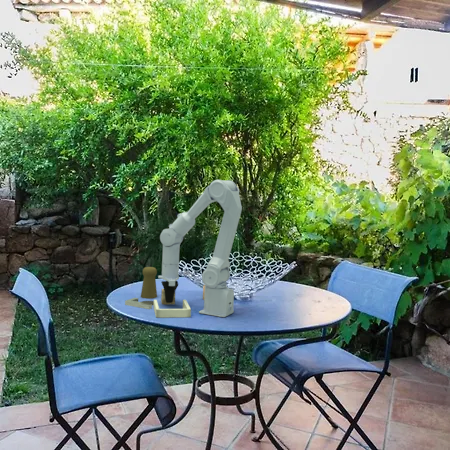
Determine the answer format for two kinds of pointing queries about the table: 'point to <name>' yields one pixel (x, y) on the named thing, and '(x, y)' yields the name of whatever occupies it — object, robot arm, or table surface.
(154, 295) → the cork
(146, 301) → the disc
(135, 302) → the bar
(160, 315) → the u-shaped bracket
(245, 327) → the table surface
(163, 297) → the block
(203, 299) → the tan rounded-top cylinder
